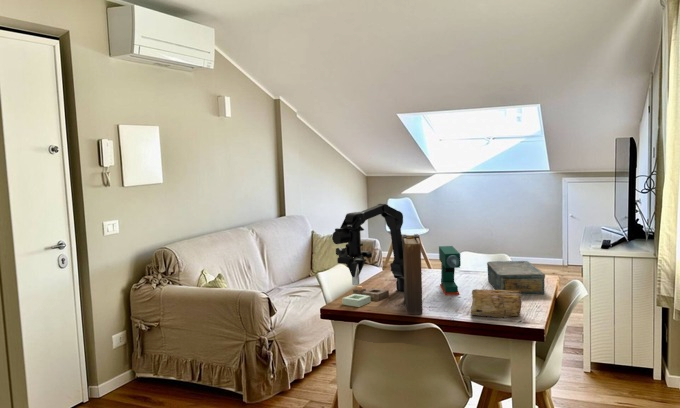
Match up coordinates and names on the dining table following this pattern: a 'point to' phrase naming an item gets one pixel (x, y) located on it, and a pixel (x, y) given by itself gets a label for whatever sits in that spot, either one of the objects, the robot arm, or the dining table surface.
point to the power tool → (449, 269)
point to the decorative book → (412, 274)
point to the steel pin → (356, 277)
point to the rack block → (356, 300)
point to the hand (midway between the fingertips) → (355, 276)
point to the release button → (359, 288)
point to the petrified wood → (496, 303)
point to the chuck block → (376, 293)
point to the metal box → (516, 276)
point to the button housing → (358, 291)
